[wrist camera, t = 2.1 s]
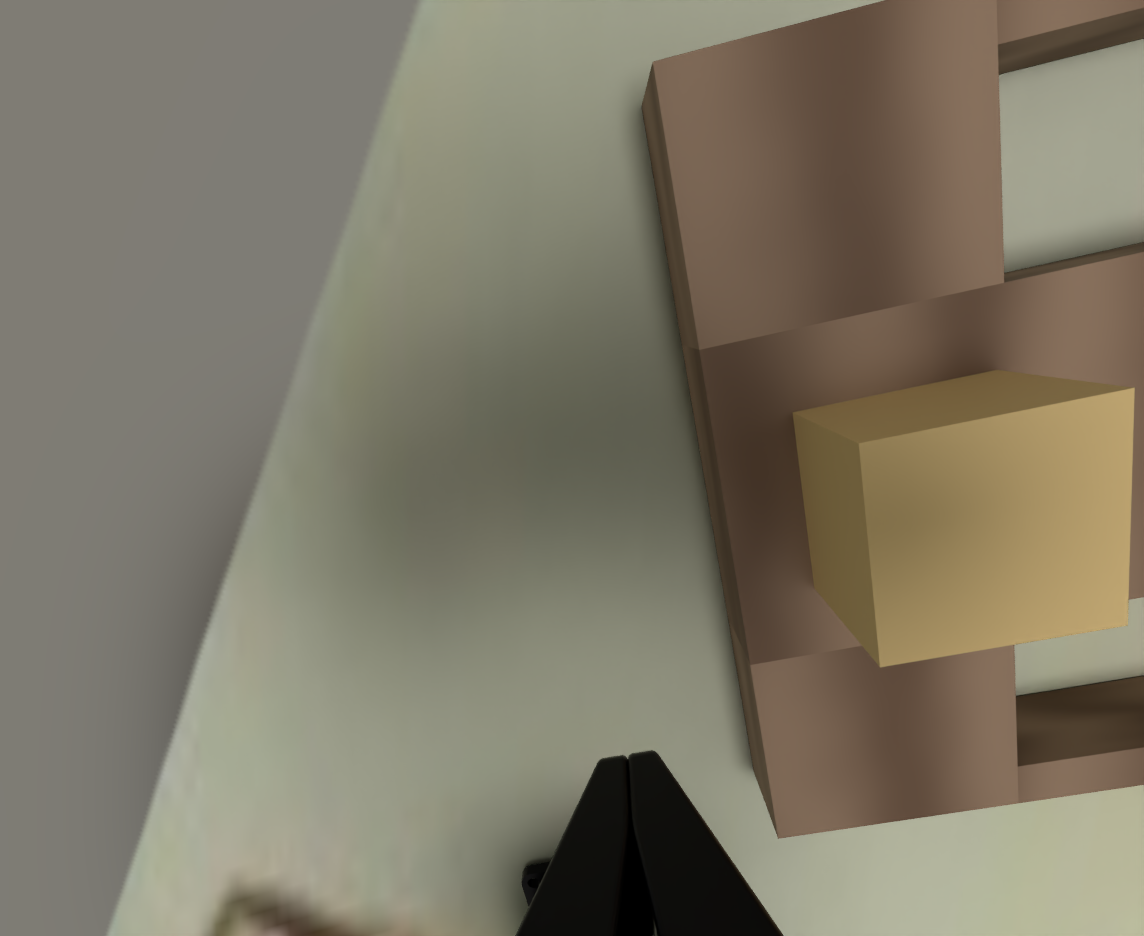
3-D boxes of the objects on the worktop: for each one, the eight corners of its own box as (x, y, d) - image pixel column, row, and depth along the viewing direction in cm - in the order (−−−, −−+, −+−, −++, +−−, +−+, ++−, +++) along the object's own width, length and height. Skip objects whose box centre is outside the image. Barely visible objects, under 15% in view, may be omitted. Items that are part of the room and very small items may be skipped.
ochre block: (814, 588, 17) (879, 667, 13) (792, 412, 16) (858, 443, 12) (1003, 554, 17) (1127, 625, 13) (996, 369, 15) (1134, 388, 11)
